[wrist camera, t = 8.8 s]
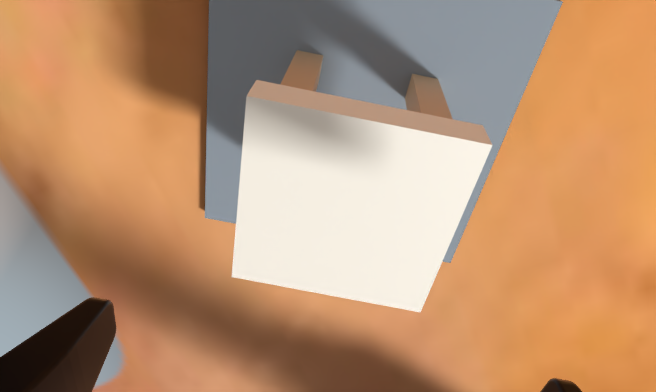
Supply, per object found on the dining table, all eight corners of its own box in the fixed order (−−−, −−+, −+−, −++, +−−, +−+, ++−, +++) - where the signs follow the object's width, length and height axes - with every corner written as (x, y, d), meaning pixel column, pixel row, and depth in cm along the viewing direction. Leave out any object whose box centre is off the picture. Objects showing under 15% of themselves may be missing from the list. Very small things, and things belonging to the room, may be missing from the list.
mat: (558, -1, 16) (562, 1, 15) (449, 257, 22) (450, 262, 22) (213, -70, 15) (210, -69, 15) (207, 213, 22) (204, 218, 22)
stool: (455, 68, 17) (492, 144, 12) (407, 206, 20) (420, 312, 15) (285, 33, 17) (246, 95, 11) (267, 179, 20) (231, 277, 15)
